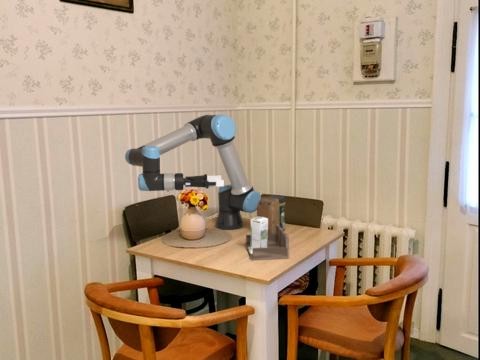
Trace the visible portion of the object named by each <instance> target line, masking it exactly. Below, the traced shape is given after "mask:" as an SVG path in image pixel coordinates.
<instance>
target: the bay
mask: <svg viewBox="0 0 480 360" xmlns="http://www.w3.org/2000/svg"><path fill="white" fill-rule="evenodd" d="M245 236H246V237H245V238H246V240H245V243H244V247H245V249H246V251H247V253H248V255H249V258H250V260H251V261H269V260H270V261H272V260H289V259H290V254H289V253H290V236H288V234H287V233H286V232H285V230H283V229H282V228H281V227H280V226H279V224H278V225H276V234H268V248H253V250H250V234H245Z"/></svg>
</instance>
